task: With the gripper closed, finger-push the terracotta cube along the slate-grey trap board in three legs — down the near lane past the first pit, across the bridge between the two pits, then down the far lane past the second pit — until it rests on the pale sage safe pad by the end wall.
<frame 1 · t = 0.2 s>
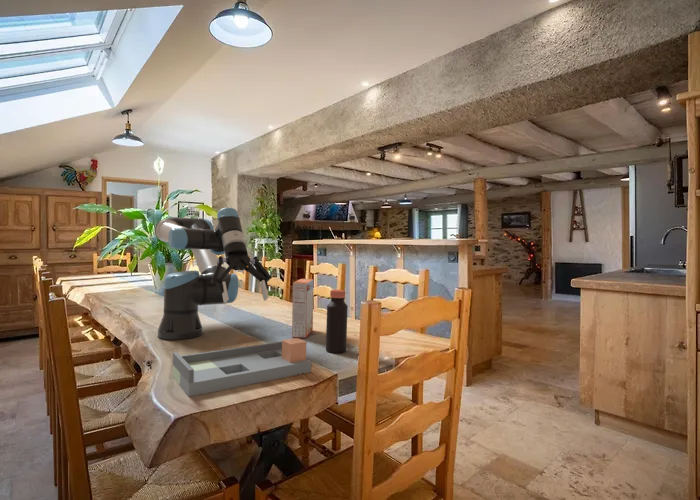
hand: (246, 300, 127), 16 cm above the table, tool tilted 35°, fingers open, 13 cm apart
terracotta block: (293, 358, 108), point 3 cm above the table, touching trap board
bottle: (335, 351, 128), on the table
trap board: (243, 373, 103), on the table
cracker box: (302, 334, 150), on the table
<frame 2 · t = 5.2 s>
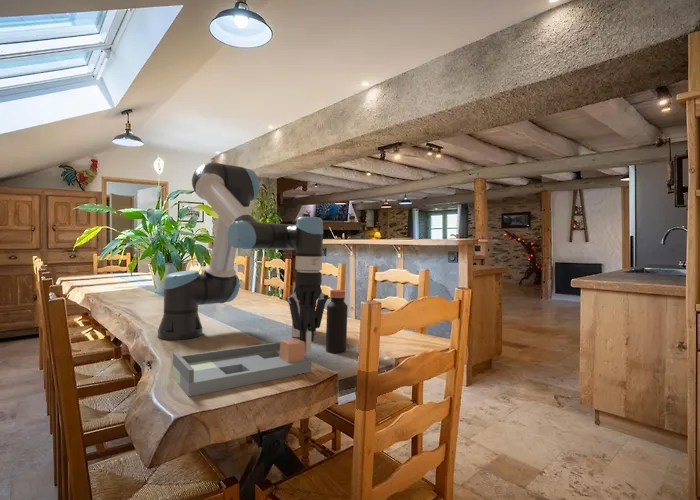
hand: (306, 353, 110), 4 cm above the table, tool pointing down, fingers closed
nothing on the table moved.
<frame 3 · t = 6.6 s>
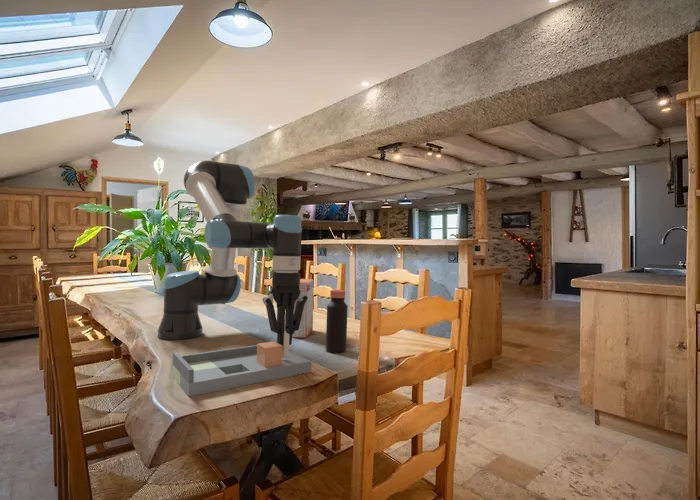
hand: (284, 357, 106), 4 cm above the table, tool pointing down, fingers closed
terracotta block: (269, 363, 103), point 3 cm above the table, touching gripper, trap board
everything else where it was.
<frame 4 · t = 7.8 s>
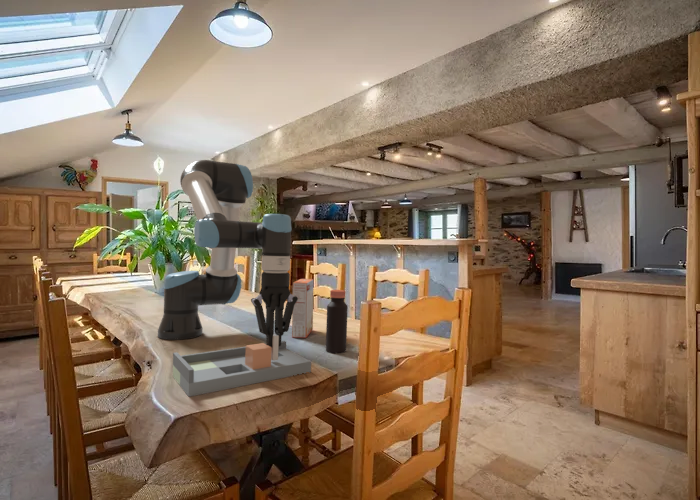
hand: (273, 358, 104), 4 cm above the table, tool pointing down, fingers closed
terracotta block: (257, 365, 101), point 3 cm above the table, touching gripper, trap board
everything else where it was.
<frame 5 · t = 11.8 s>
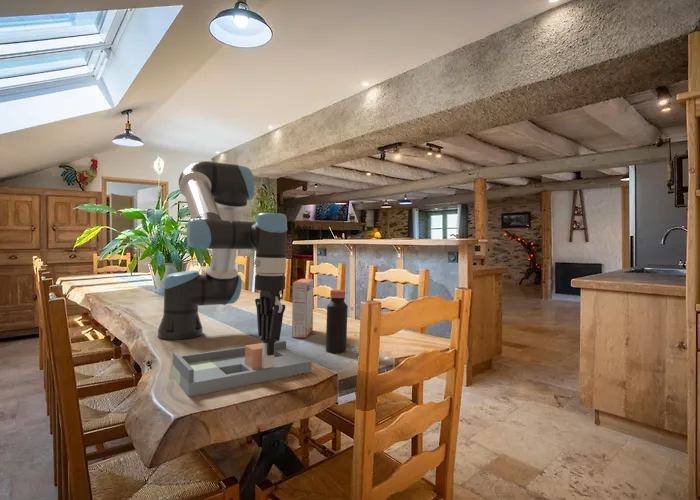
hand: (267, 366, 98), 4 cm above the table, tool pointing down, fingers closed
nothing on the table moved.
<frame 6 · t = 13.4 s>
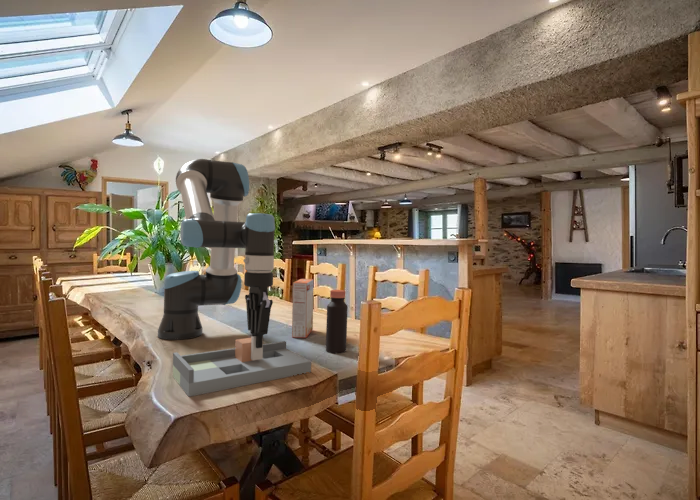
hand: (256, 358, 104), 4 cm above the table, tool pointing down, fingers closed
terracotta block: (247, 358, 107), point 3 cm above the table, touching gripper, trap board
everything else where it was.
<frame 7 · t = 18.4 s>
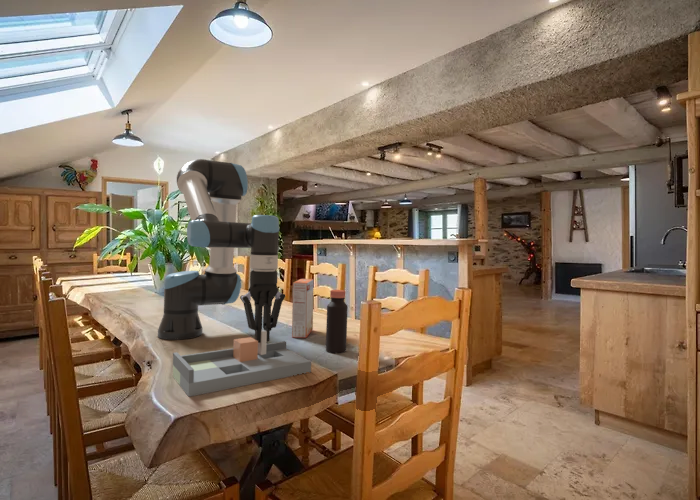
hand: (261, 353, 109), 4 cm above the table, tool pointing down, fingers closed
nothing on the table moved.
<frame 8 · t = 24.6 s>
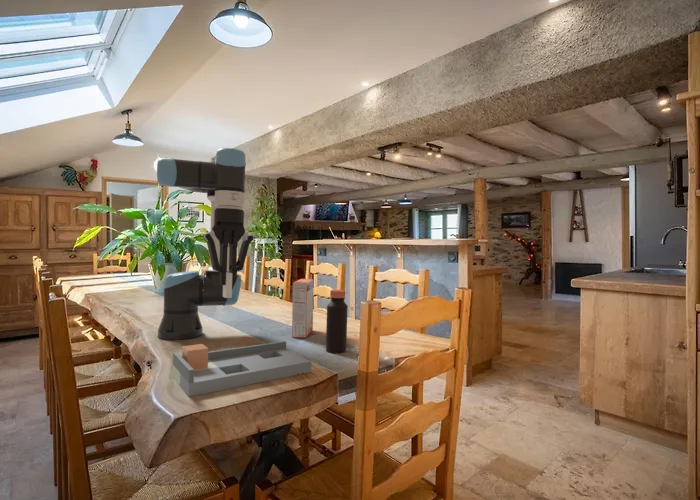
hand: (227, 297, 103), 20 cm above the table, tool pointing down, fingers closed
terracotta block: (194, 366, 99), point 3 cm above the table, touching trap board
everything else where it was.
at the end: terracotta block inside the target area (1.1 cm from its centre), point 3.0 cm above the table; terracotta block tilted 0° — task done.
